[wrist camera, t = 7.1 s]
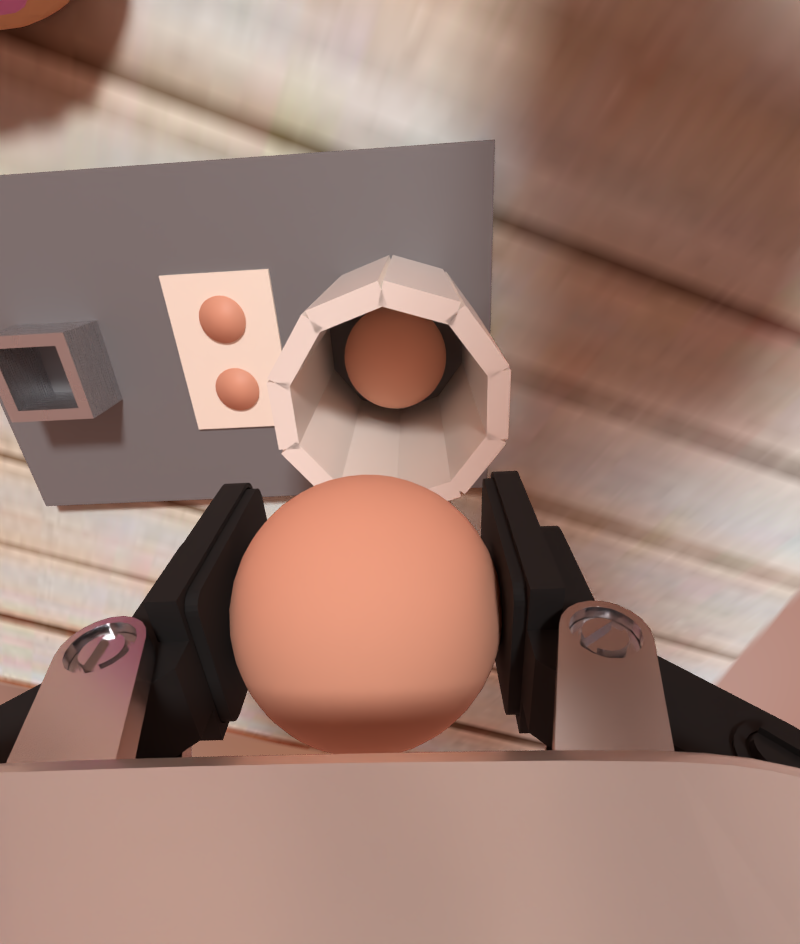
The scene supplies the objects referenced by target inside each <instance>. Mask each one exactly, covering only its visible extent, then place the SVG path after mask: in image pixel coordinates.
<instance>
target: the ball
mask: <svg viewBox="0 0 800 944" xmlns="http://www.w3.org/2000/svg"><path fill="white" fill-rule="evenodd" d="M229 614H230V638H231V643H232V648H233V652H234V657H235V661H236V664H237V666H238V669H239V672H240V674H241V676H242V679H243V681H244V683H245V685H246V687H247V689H248V690H249V692H250V694H251V696H252V697H253V698H254V700H255V701H256V702H257V704H258V705H259V706H260V707H261V709H262V710H263V711H264V713H265V714H266V715H267V716H268V717H269V718H270V719H271V720H272V721H273V722H274V723H275V724H277V725H278V726H279V727H280V728H282V729H283V730H284V731H286V732H287V733H288V734H289V735H291V736H292V737H294V738H296V739H297V740H299V741H300V742H302V743H305V744H307V745H309V746H311V747H313V748H316V749H319V750H322V751H325V752H329V753H332V754H358V753H400V752H403V751H406V750H409V749H412V748H414V747H416V746H419V745H421V744H423V743H425V742H427V741H428V740H430V739H432V738H434V737H435V736H437V735H439V734H440V733H442V732H443V731H444V730H446V729H447V728H448V727H449V726H451V725H452V724H453V723H454V722H455V721H456V720H457V719H458V718H459V717H460V716H461V715H462V714H463V713H464V712H465V711H466V710H467V709H468V708H469V706H470V705H471V704H472V702H473V701H474V699H475V698H476V697H477V695H478V694H479V692H480V691H481V690H482V688H483V686H484V684H485V682H486V680H487V678H488V676H489V674H490V672H491V669H492V667H493V665H494V662H495V658H496V655H497V652H498V648H499V643H500V638H501V631H502V607H501V595H500V587H499V581H498V575H497V572H496V569H495V566H494V563H493V561H492V558H491V556H490V553H489V551H488V549H487V547H486V546H485V544H484V542H483V541H482V539H481V537H480V536H479V534H478V532H477V531H476V529H475V528H474V527H473V526H472V524H471V523H470V522H469V521H468V520H467V518H466V517H465V516H464V515H463V514H462V513H460V512H459V511H458V510H457V509H456V508H455V507H454V506H453V505H452V504H451V503H450V502H448V501H447V500H445V499H444V498H442V497H441V496H440V495H438V494H436V493H435V492H433V491H431V490H429V489H427V488H425V487H423V486H420V485H418V484H415V483H413V482H410V481H407V480H404V479H400V478H396V477H391V476H383V475H355V476H346V477H342V478H337V479H333V480H329V481H326V482H323V483H320V484H318V485H315V486H313V487H311V488H309V489H307V490H305V491H303V492H301V493H300V494H298V495H297V496H295V497H294V498H292V499H291V500H289V501H288V502H286V503H285V504H284V505H282V506H281V507H280V508H279V509H278V510H277V511H276V512H275V513H274V514H273V515H272V516H271V517H270V518H269V519H268V520H267V521H266V522H265V523H264V524H263V526H262V527H261V528H260V529H259V531H258V532H257V533H256V535H255V536H254V538H253V539H252V541H251V543H250V544H249V546H248V548H247V550H246V552H245V553H244V555H243V557H242V560H241V563H240V565H239V568H238V571H237V574H236V577H235V580H234V583H233V589H232V595H231V602H230V608H229Z"/></svg>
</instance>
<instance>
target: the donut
mask: <svg viewBox="0 0 800 944" xmlns="http://www.w3.org/2000/svg"><path fill="white" fill-rule="evenodd" d="M70 1H71V0H0V30H4V29H12V28H20V27H24V26H28V25H30V24H33V23H35V22H37V21H40V20H42V19H44V18H47V17H48V16H50V15H52V14H53V13H55V12H57V11H58V10H60V9H61V8H63V7H64V6H65V5H66V4H67V3H69V2H70Z"/></svg>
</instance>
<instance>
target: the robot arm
mask: <svg viewBox="0 0 800 944" xmlns="http://www.w3.org/2000/svg"><path fill="white" fill-rule="evenodd" d="M266 521H267V518H266V513H265V508H264V504H263V499H262V494H261V491H260V490H259V489H258V488H256V489H253V487H252V485H251V484H250V483H230V484H224V485H223V486H222V487H221V488H220V490H219V491H218V493H217V494H216V496H215V497H214V499H213V500H212V502H211V503H210V505H209V506H208V507H207V509H206V510H205V512H204V513H203V515H202V516H201V518H200V519H199V521H198V522H197V524H196V525H195V527H194V528H193V530H192V531H191V533H190V534H189V535H188V537H187V538H186V540H185V541H184V543H183V544H182V545H181V546H180V547H179V549H178V550H177V552H176V553H175V555H174V556H173V558H172V559H171V561H170V562H169V564H168V565H167V566H166V568H165V569H164V571H163V572H162V574H161V575H160V577H159V578H158V580H157V581H156V583H155V584H154V586H153V587H152V588H151V590H150V591H149V593H148V594H147V596H146V597H145V599H144V600H143V602H142V603H141V605H140V606H139V608H138V609H137V610H136V612H135V613H134V615H133V616H132V617H127V616H119V617H111V618H107V619H104V620H101V621H97V622H95V623H93V624H91V625H89V626H87V627H84V628H83V629H81V630H80V631H78V632H77V633H75V634H74V635H72V636H71V637H70V638H69V639H68V640H67V641H65V642H64V643H63V644H62V645H61V646H60V648H59V649H58V651H57V652H56V654H55V655H54V657H53V659H52V662H51V664H50V666H49V668H48V671H47V673H46V675H45V677H44V679H43V682H42V683H41V684H39V685H38V686H36V687H34V688H32V689H30V690H28V691H26V692H25V693H22V694H21V695H19V696H17V697H15V698H13V699H11V700H9V701H7V702H6V703H4V704H2V705H0V944H800V730H799V729H797V728H795V727H794V726H792V725H790V724H788V723H787V722H785V721H782V720H781V719H779V718H777V717H775V716H773V715H771V714H769V713H767V712H765V711H763V710H761V709H759V708H758V707H755V706H753V705H752V704H750V703H748V702H746V701H744V700H742V699H740V698H738V697H736V696H734V695H732V694H731V693H728V692H727V691H725V690H723V689H721V688H719V687H717V686H715V685H713V684H711V683H709V682H707V681H705V680H703V679H702V678H700V677H698V676H696V675H694V674H692V673H690V672H688V671H686V670H684V669H682V668H680V667H678V666H676V665H675V664H673V663H671V662H669V661H667V660H665V659H663V658H661V657H659V656H657V652H656V646H655V641H654V637H653V635H652V632H651V630H650V628H649V627H648V625H647V624H646V623H645V622H644V621H643V620H642V619H641V618H640V617H639V616H637V615H636V614H635V613H633V612H632V611H630V610H628V609H626V608H624V607H621V606H619V605H617V604H613V603H609V602H604V601H595V600H594V598H593V596H592V594H591V592H590V590H589V588H588V585H587V583H586V581H585V579H584V577H583V575H582V573H581V571H580V569H579V566H578V564H577V562H576V560H575V558H574V556H573V554H572V552H571V550H570V547H569V545H568V543H567V541H566V539H565V537H564V535H563V533H562V531H561V529H560V528H559V527H558V526H540V525H539V522H538V520H537V518H536V515H535V513H534V510H533V508H532V505H531V503H530V501H529V498H528V496H527V493H526V491H525V488H524V486H523V484H522V481H521V479H520V476H519V474H518V472H517V471H504V472H492V474H491V478H487V479H483V481H482V520H481V539H482V541H483V542H484V544H485V546H486V547H487V549H488V551H489V553H490V556H491V558H492V561H493V563H494V566H495V569H496V572H497V575H498V581H499V587H500V595H501V607H502V631H501V638H500V643H499V648H498V652H497V655H496V658H495V662H496V668H497V673H498V678H499V683H500V689H501V694H502V699H503V704H504V709H505V713H506V715H515V714H516V719H517V724H518V729H519V733H531V734H532V735H533V736H535V737H536V738H537V739H539V740H540V741H541V742H543V743H544V744H545V750H540V751H475V752H411V753H358V754H313V755H312V754H309V755H265V756H220V757H219V756H218V757H192V747H191V746H192V745H194V744H195V743H197V742H198V741H200V740H223V738H224V735H225V732H226V730H227V727H228V724H229V721H236V720H237V718H238V716H239V714H240V711H241V708H242V705H243V702H244V699H245V696H246V693H247V690H248V689H247V687H246V685H245V683H244V681H243V679H242V676H241V674H240V672H239V669H238V666H237V664H236V661H235V657H234V652H233V648H232V643H231V638H230V614H229V608H230V602H231V595H232V589H233V583H234V580H235V577H236V574H237V571H238V568H239V565H240V563H241V560H242V557H243V555H244V553H245V552H246V550H247V548H248V546H249V544H250V543H251V541H252V539H253V538H254V536H255V535H256V533H257V532H258V531H259V529H260V528H261V527H262V526H263V524H264V523H265V522H266Z"/></svg>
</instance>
